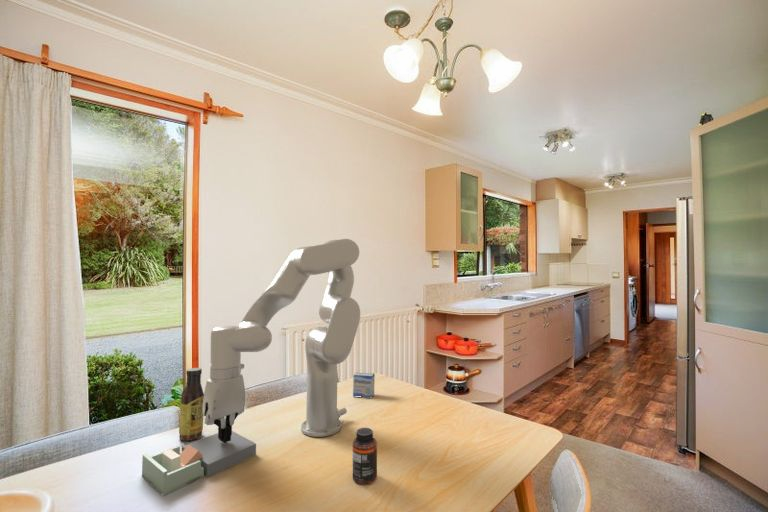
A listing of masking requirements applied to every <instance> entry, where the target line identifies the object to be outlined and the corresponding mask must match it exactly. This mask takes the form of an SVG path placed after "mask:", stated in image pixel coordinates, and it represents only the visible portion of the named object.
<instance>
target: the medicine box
mask: <svg viewBox="0 0 768 512" xmlns="http://www.w3.org/2000/svg"><path fill="white" fill-rule="evenodd" d="M375 376H376V375H375V373H371V372H357V371H356V372H355V373H354V374H353V376H352V377H353V379H352V382H353V385H352V386H353V387H352V397H353V396H361V397H372V396H373V395H375V381H376V380H375ZM373 397H374V396H373ZM373 397H372V398H373Z"/></svg>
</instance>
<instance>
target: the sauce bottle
mask: <svg viewBox="0 0 768 512" xmlns="http://www.w3.org/2000/svg"><path fill="white" fill-rule="evenodd" d="M202 370H203V369H202V368H201V367H191V368H188V369H187V370H186V371H185V372H186V382H185V383H186V384H185V386H184V389H183V390H182V392H181V399H180V400H181V401H180V406H179V407H180V409H179V411H180V412H179V428H178V434H179V435H178V436H179V440H180V441H182V442H188V441H189V442H190V441H194V440H196V439H199V438H200V437H201V436H202V434H203V430H204V415H203V399H204V390H203V387H202V380H201V379H202V378H201V377H202Z"/></svg>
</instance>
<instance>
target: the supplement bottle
mask: <svg viewBox="0 0 768 512" xmlns="http://www.w3.org/2000/svg"><path fill="white" fill-rule="evenodd" d="M355 435H356V437H355V438H354V440H353V441H352V480H353V481H354V482H355V483H356V484H358V485H364V486H365V485H369V484H372V483H374V482H375V481H376V480H377V477H378V443H377V439H375V438H374V430H373V429H372V428H370V427H360V428H359V429H357V430H356V434H355Z"/></svg>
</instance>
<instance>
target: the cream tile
mask: <svg viewBox="0 0 768 512" xmlns="http://www.w3.org/2000/svg"><path fill="white" fill-rule="evenodd" d="M167 450H168V449H167ZM164 451H165V452H163V451H162V452H163V453H162V467H163V468H165V469H166V470H167V473H170V472H172V471H175V470H177V469H179V468H180V458H181V456H180V455H179V454H177V453H176V452H174V451H173V450H168V451H166V450H164Z"/></svg>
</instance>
